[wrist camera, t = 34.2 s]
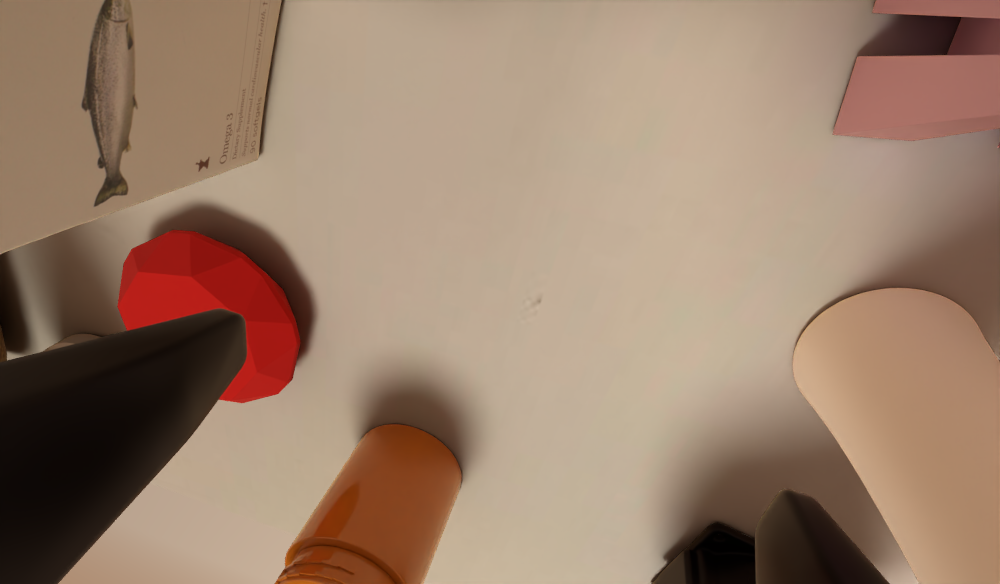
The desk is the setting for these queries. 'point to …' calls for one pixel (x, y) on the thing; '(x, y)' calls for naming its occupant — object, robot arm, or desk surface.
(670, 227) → the desk surface
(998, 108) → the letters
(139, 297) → the gemstone
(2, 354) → the stone weight
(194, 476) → the desk surface
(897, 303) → the cosmetic bottle
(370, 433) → the jam jar
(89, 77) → the white packaging box
